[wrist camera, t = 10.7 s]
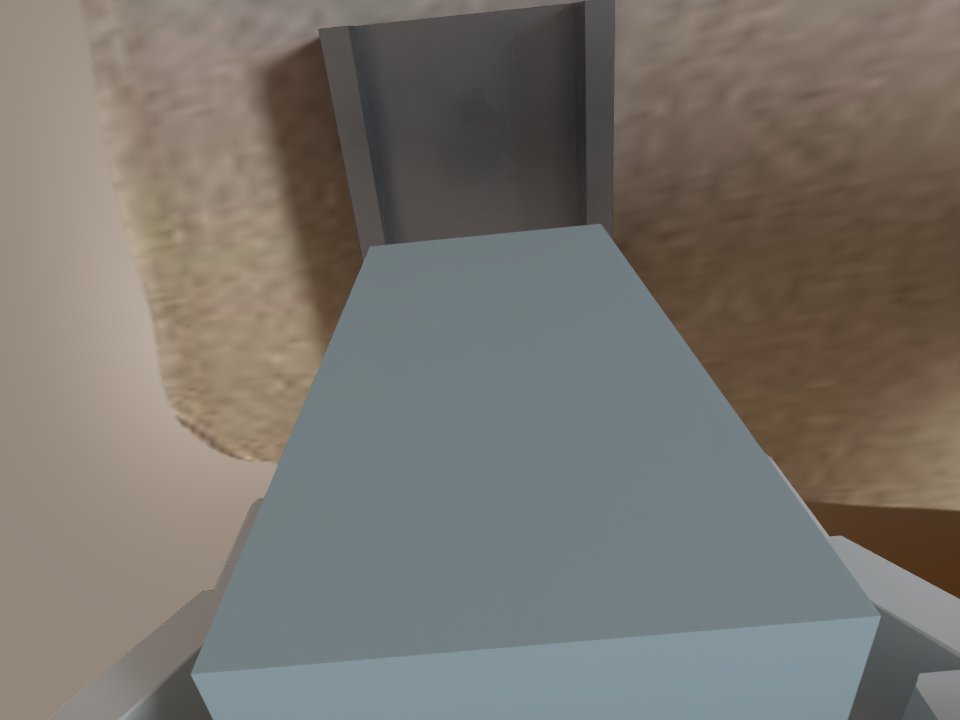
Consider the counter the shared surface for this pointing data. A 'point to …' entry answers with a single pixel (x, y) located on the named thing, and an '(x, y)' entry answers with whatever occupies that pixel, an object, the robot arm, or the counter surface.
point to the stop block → (527, 516)
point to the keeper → (476, 121)
